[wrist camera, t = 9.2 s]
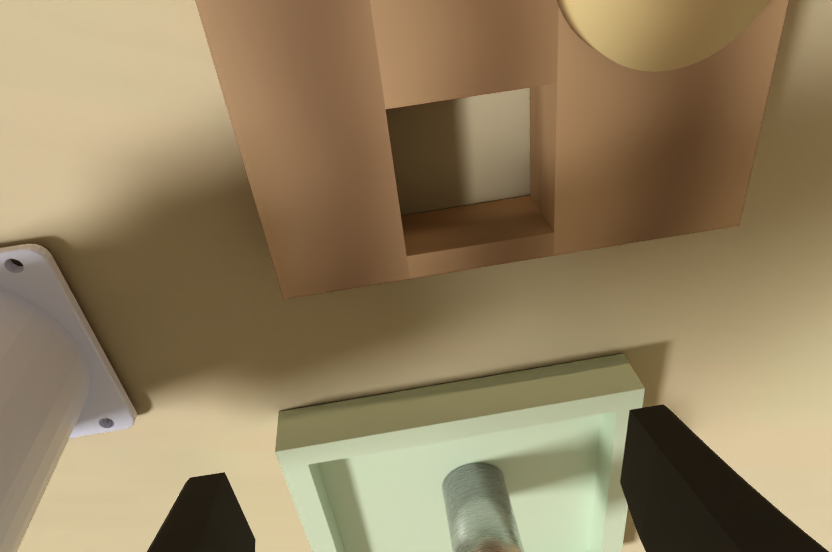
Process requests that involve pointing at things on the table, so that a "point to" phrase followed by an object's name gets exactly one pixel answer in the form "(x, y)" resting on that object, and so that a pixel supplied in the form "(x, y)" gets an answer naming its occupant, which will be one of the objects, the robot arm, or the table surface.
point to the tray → (466, 458)
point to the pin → (480, 510)
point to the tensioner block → (483, 74)
